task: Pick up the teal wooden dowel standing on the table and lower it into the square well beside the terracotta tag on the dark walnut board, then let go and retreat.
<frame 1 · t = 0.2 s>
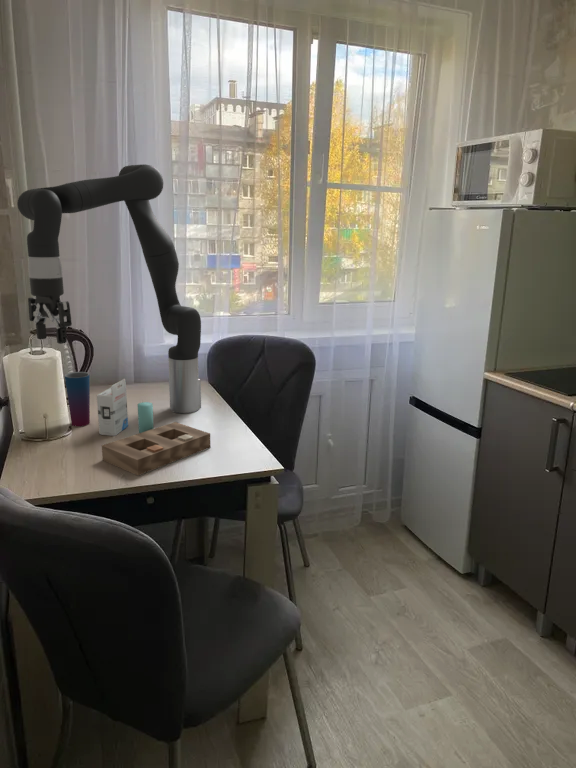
hand: (51, 341, 145), 29 cm above the table, fingers open, 8 cm apart
board: (158, 453, 150), on the table
cup: (80, 424, 171), on the table
plug: (146, 438, 160), on the table
ink box: (114, 431, 166), on the table
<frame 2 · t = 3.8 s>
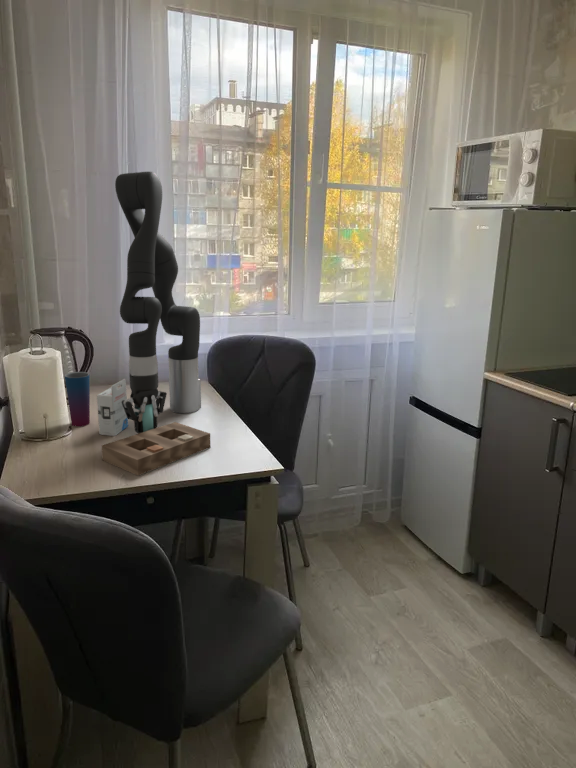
hand: (146, 430, 160), 2 cm above the table, fingers closed on plug, 4 cm apart
plug: (146, 438, 160), on the table, touching gripper
everything else where it was.
when the fingers open (5 cm above the table, at t = 8.3 s): plug drops 2 cm, resting in board.
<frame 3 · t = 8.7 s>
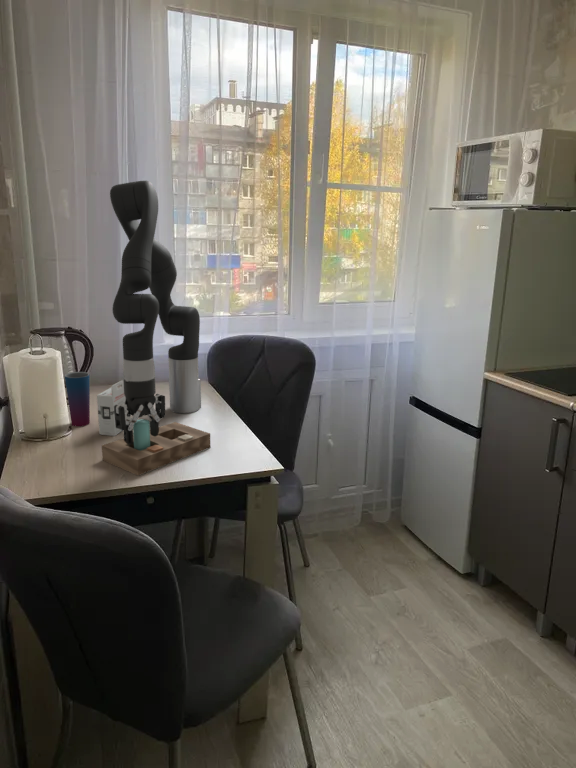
hand: (142, 439, 145), 5 cm above the table, fingers open, 7 cm apart
plug: (142, 459, 146), resting in board
everything else where it was.
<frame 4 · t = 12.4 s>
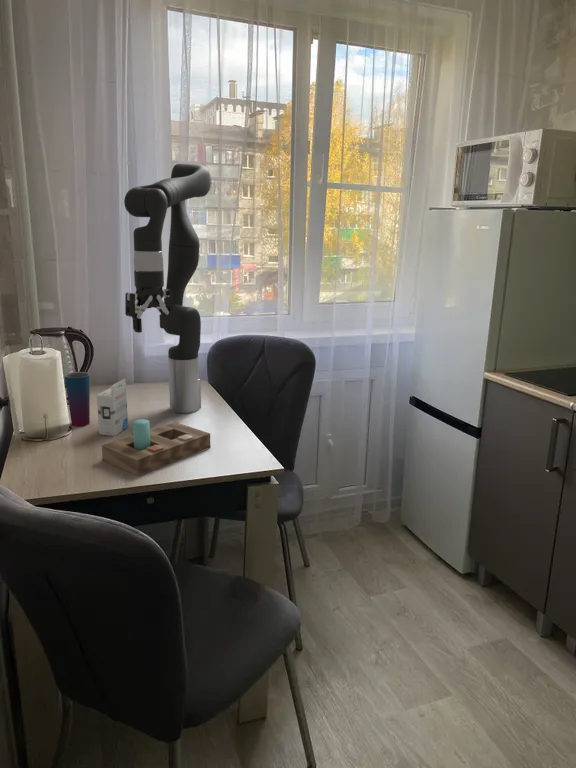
hand: (151, 330, 155), 30 cm above the table, fingers open, 8 cm apart
nothing on the table moved.
at the end: plug 0.1 cm from the target spot on the board, point 0.0 cm above the board's base; the gripper is holding nothing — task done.
